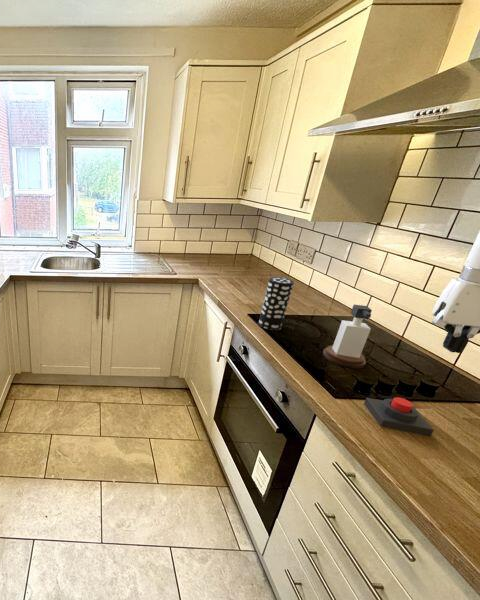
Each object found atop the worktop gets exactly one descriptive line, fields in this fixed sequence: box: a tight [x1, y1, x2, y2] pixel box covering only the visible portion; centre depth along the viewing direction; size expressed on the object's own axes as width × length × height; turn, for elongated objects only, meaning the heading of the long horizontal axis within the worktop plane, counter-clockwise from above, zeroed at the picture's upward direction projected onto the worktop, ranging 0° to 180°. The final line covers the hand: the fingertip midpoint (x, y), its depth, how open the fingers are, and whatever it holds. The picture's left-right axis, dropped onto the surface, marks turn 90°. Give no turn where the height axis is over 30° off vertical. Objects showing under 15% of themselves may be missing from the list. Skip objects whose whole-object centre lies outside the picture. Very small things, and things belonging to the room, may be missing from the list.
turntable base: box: [322, 347, 367, 369], centre depth 109 cm, size 12×12×1 cm
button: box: [391, 396, 414, 413], centre depth 81 cm, size 4×4×2 cm
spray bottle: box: [325, 304, 373, 363], centre depth 105 cm, size 10×10×18 cm
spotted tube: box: [257, 276, 295, 331], centre depth 128 cm, size 8×8×20 cm
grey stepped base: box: [363, 397, 435, 437], centre depth 82 cm, size 10×9×4 cm
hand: (451, 349), depth 75 cm, fingers closed
